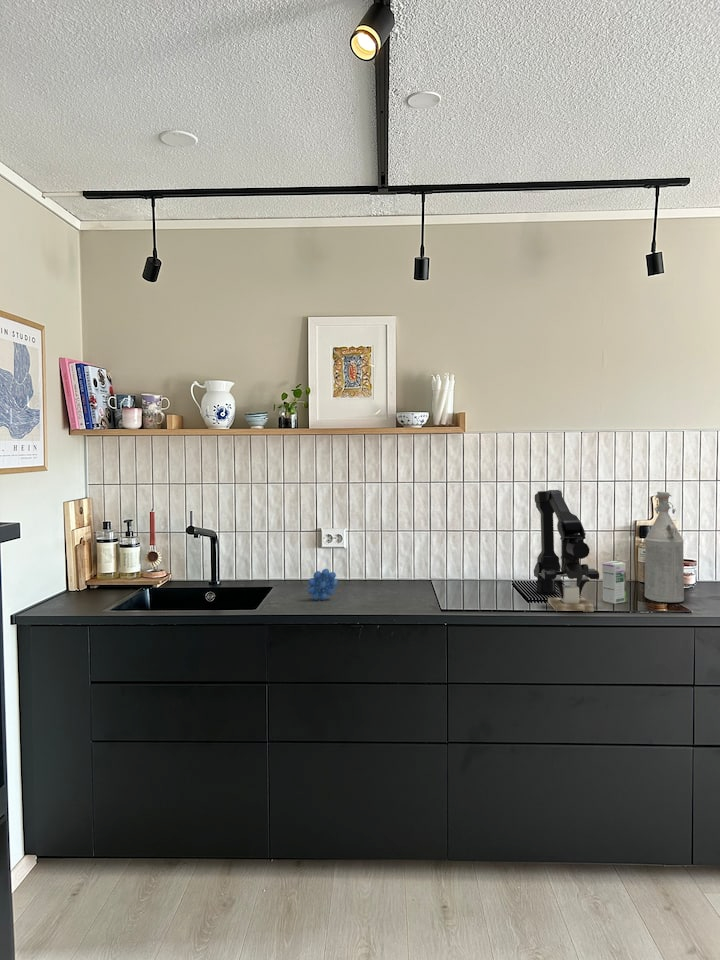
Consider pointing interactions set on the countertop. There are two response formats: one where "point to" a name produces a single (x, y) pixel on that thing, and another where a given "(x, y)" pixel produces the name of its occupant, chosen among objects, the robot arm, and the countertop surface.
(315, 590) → the grapes
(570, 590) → the cream block
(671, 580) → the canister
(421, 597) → the countertop surface
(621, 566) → the syrup box
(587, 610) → the socket block
